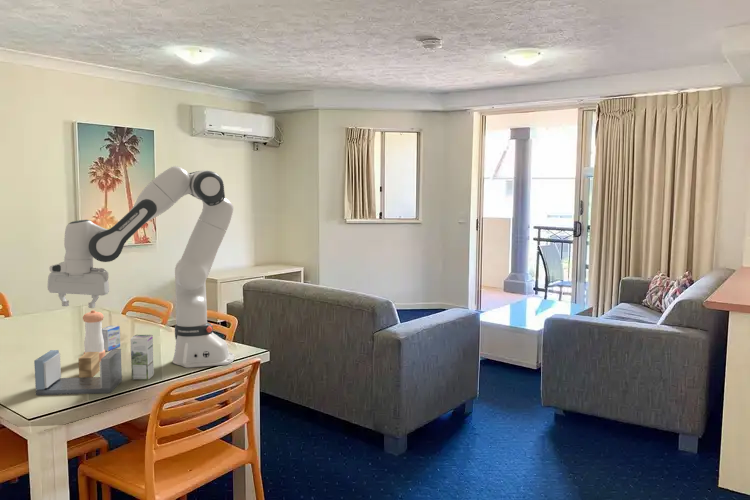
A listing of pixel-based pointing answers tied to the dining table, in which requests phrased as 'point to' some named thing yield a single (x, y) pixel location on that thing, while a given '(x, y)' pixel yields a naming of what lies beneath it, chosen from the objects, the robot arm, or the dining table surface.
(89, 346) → the pepper shaker
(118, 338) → the medicine box
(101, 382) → the vise
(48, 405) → the dining table surface
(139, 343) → the syrup box
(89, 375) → the wooden block
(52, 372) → the vise jaw
